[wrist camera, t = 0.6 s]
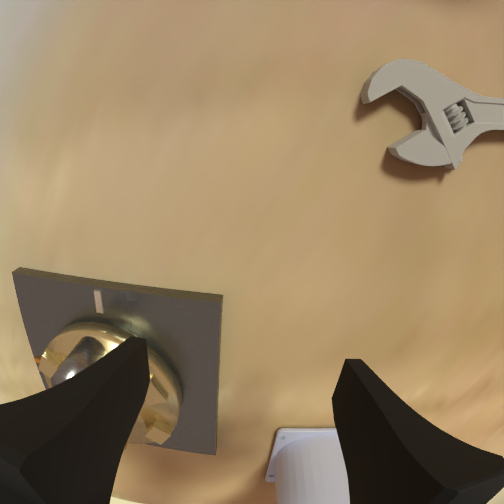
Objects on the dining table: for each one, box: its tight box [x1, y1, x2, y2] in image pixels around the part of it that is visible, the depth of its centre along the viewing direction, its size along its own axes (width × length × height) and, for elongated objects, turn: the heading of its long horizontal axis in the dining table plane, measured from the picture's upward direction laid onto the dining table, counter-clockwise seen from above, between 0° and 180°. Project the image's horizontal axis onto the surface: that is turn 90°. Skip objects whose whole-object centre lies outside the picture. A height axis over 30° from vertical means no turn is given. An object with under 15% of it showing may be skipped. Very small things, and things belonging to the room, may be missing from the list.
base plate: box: [12, 267, 223, 455], centre depth 21 cm, size 16×16×1 cm
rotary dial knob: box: [39, 322, 182, 449], centre depth 18 cm, size 11×11×6 cm
